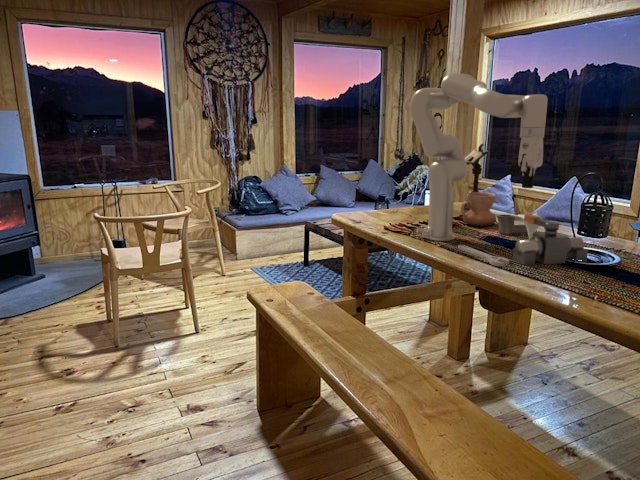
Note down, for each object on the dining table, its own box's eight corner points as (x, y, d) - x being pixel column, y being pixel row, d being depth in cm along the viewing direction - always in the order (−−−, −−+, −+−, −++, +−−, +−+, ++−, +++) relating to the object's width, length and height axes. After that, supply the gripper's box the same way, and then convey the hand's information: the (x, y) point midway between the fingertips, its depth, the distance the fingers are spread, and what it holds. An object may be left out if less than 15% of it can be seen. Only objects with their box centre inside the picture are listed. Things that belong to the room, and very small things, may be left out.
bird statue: (464, 216, 237) (469, 144, 228) (449, 211, 249) (453, 142, 240) (492, 214, 242) (498, 143, 233) (476, 209, 254) (481, 141, 245)
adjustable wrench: (456, 249, 182) (456, 244, 182) (471, 247, 184) (471, 243, 183) (496, 267, 159) (497, 262, 158) (513, 266, 160) (514, 261, 160)
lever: (561, 230, 161) (562, 223, 160) (549, 231, 160) (549, 224, 159) (532, 220, 177) (533, 214, 176) (521, 220, 176) (522, 214, 175)
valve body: (524, 265, 160) (527, 234, 157) (511, 258, 167) (514, 228, 165) (587, 261, 163) (591, 230, 160) (572, 255, 171) (575, 225, 168)
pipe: (529, 236, 197) (530, 217, 195) (496, 235, 200) (497, 216, 198) (526, 233, 203) (528, 214, 201) (494, 231, 206) (495, 213, 204)
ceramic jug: (488, 220, 227) (491, 190, 224) (504, 227, 213) (507, 195, 210) (452, 222, 225) (454, 192, 221) (465, 229, 211) (468, 197, 207)
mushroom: (540, 238, 193) (543, 209, 190) (547, 245, 183) (550, 214, 180) (513, 237, 195) (516, 208, 192) (518, 244, 185) (521, 214, 182)
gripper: (535, 133, 153) (530, 191, 158) (551, 132, 164) (546, 186, 168) (511, 133, 158) (507, 189, 163) (529, 132, 169) (524, 184, 173)
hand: (527, 187), depth 165 cm, fingers closed
